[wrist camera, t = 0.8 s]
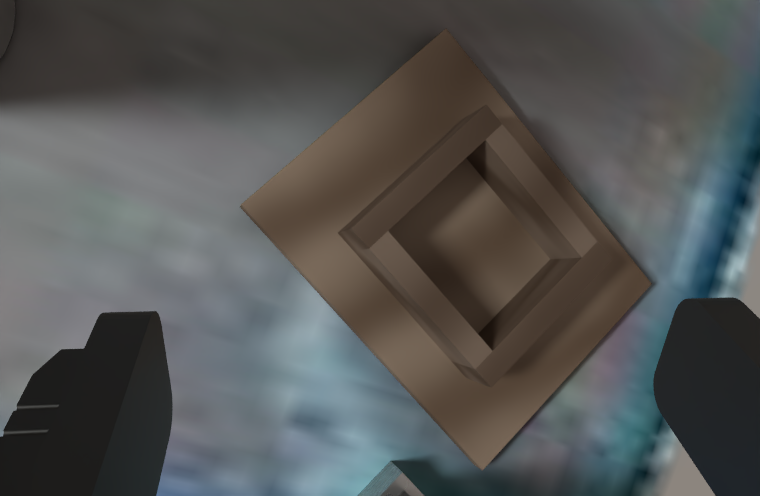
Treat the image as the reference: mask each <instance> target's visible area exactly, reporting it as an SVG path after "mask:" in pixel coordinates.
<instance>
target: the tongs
mask: <svg viewBox="0 0 760 496" xmlns="http://www.w3.org/2000/svg"><path fill="white" fill-rule="evenodd" d="M358 496H424V495H423V494H422V493H421V492H420V491H419V490H418V488H417V487H416V486H415V485H414V484H413V483H412V482H411V481H410V480H409V479H408V478H407V477H406V476H405V475H404V473H403V472H402V471H401V470H400V469H398V468H397V467H396V466H395V465H394V464H393V463H392V462H391V461H390V462H389V463H388V464H387V465H386V466H385V467H384V468H383V470H382V471H381V472H380V473H379V474H378V475H377V476H376V477H375V478H374V479H373V480H372V481H371V482H370V483H369V484H368V485H367V486H366V487H365V488H364V489H363V490H362V492H361V493H360V494H359V495H358Z"/></svg>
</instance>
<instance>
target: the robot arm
mask: <svg viewBox="0 0 760 496" xmlns="http://www.w3.org/2000/svg"><path fill="white" fill-rule="evenodd" d="M15 12H16V10H15V1H14V0H0V59H1V57H2V56H3V55H4V53H5V51H6V49H7V46H8V44H9V41H10V38H11V36H12V33H13V28H14V20H15ZM653 386H654V395H655V400H656V403H657V406H658V408H659V410H660V412H661V414H662V416H663V417H664V419H665V420H666V422H667V423H668V425H669V426H670V428H671V429H672V431H673V432H674V434H675V435H676V437H677V438H678V440H679V441H680V443H681V444H682V446H683V447H684V449H685V450H686V452H687V453H688V454H689V456H690V458H691V459H692V461H693V462H694V464H695V465H696V467H697V468H698V470H699V471H700V473H701V474H702V476H703V477H704V479H705V480H706V482H707V483H708V485H709V486H710V488H711V489H712V491H713V492H714V494H715V495H716V496H760V319H759V318H758V317H757V316H756V315H755V314H754V313H753V312H752V311H751V310H750V309H749V308H748V307H747V306H746V305H745V304H744V303H743V302H741V301H740V300H738V299H736V298H696V299H685V300H683V301H682V302H681V303H680V304H679V305H678V307H677V308H676V311H675V313H674V316H673V319H672V322H671V325H670V328H669V331H668V335H667V338H666V341H665V344H664V347H663V350H662V353H661V356H660V359H659V362H658V365H657V368H656V371H655V374H654V384H653ZM171 424H172V391H171V384H170V378H169V371H168V365H167V358H166V352H165V345H164V339H163V332H162V326H161V321H160V317H159V314H158V313H157V312H156V311H149V312H110V313H102V314H100V316H99V317H98V319H97V321H96V323H95V326H94V328H93V330H92V332H91V335H90V337H89V339H88V341H87V344H86V346H85V348H84V349H61V350H60V351H59V352H58V353H57V354H56V355H54V356H53V357H52V358H51V359H50V360H49V361H48V362H47V363H45V364H44V365H43V366H42V367H41V368H40V369H39V370H38V371H36V372H35V373H34V374H33V375H32V377H31V379H30V381H29V382H28V384H27V386H26V388H25V390H24V392H23V394H22V396H21V398H20V400H19V402H18V403H17V410H16V411H13V413H12V415H11V417H10V419H9V421H8V423H7V424H6V426H5V428H4V435H3V437H0V496H156V494H157V489H158V485H159V481H160V476H161V472H162V467H163V463H164V459H165V454H166V450H167V445H168V441H169V437H170V431H171Z"/></svg>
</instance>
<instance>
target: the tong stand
mask: <svg viewBox="0 0 760 496" xmlns="http://www.w3.org/2000/svg"><path fill="white" fill-rule="evenodd" d="M240 207H241V209H242V210H243V211H244V212H245V213H246V214H247V215H248V216H249V217H250V218H251V220H252V221H253V222H254V223H255V224H256V225H257V226H258V227H259V228H260V229H261V231H262V232H263V233H264V234H265V235H266V236H267V237H268V238H269V239H270V240H271V242H272V243H273V244H274V245H275V246H276V247H277V248H278V249H279V250H280V251H281V253H282V254H283V255H284V256H285V257H286V258H287V259H288V260H289V261H290V262H291V264H292V265H293V266H294V267H295V268H296V269H297V270H298V271H299V272H300V273H301V275H302V276H303V277H304V278H305V279H306V280H307V281H308V282H309V283H310V284H311V286H312V287H313V288H314V289H315V290H316V291H317V292H318V293H319V294H320V295H321V297H322V298H323V299H324V300H325V301H326V302H327V303H328V304H329V305H330V306H331V308H332V309H333V310H334V311H335V312H336V313H337V314H338V315H339V316H340V317H341V319H342V320H343V321H344V322H345V323H346V324H347V325H348V326H349V327H350V329H351V330H352V331H353V332H354V333H355V334H356V335H357V336H358V337H359V338H360V340H361V341H362V342H363V343H364V344H365V345H366V346H367V347H368V348H369V349H370V351H371V352H372V353H373V354H374V355H375V356H376V357H377V358H378V359H379V360H380V362H381V363H382V364H383V365H384V366H385V367H386V368H387V369H388V370H389V371H390V373H391V374H392V375H393V376H394V377H395V378H396V379H397V380H398V381H399V382H400V384H401V385H402V386H403V387H404V388H405V389H406V390H407V391H408V392H409V393H410V395H411V396H412V397H413V398H414V399H415V400H416V401H417V402H418V403H419V404H420V406H421V407H422V408H423V409H424V410H425V411H426V412H427V413H428V414H429V415H430V417H431V418H432V419H433V420H434V421H435V422H436V423H437V424H438V425H439V426H440V428H441V429H442V430H443V431H444V432H445V433H446V434H447V435H448V436H449V437H450V439H451V440H452V441H453V442H454V443H455V444H456V445H457V446H458V447H459V449H460V450H461V451H462V452H463V453H464V454H465V455H466V456H467V457H468V458H469V460H470V461H471V462H472V463H473V464H474V465H475V466H477V467H478V468H480V469H481V470H482V471H483V470H484V468H485V467H486V466H487V465H488V464H489V463H490V462H491V461H492V460H493V458H494V457H495V456H496V455H497V454H498V453H499V452H500V451H501V450H502V449H503V447H504V446H505V445H506V444H507V443H508V442H509V441H510V440H511V439H512V438H513V436H514V435H515V434H516V433H517V432H518V431H519V430H520V429H521V428H522V427H523V425H524V424H525V423H526V422H527V421H528V420H529V419H530V418H531V417H532V415H533V414H534V413H535V412H536V411H537V410H538V409H539V408H540V407H541V406H542V404H543V403H544V402H545V401H546V400H547V399H548V398H549V397H550V396H551V395H552V393H553V392H554V391H555V390H556V389H557V388H558V387H559V386H560V385H561V383H562V382H563V381H564V380H565V379H566V378H567V377H568V376H569V375H570V374H571V372H572V371H573V370H574V369H575V368H576V367H577V366H578V365H579V364H580V363H581V361H582V360H583V359H584V358H585V357H586V356H587V355H588V354H589V353H590V352H591V350H592V349H593V348H594V347H595V346H596V345H597V344H598V343H599V342H600V340H601V339H602V338H603V337H604V336H605V335H606V334H607V333H608V332H609V331H610V329H611V328H612V327H613V326H614V325H615V324H616V323H617V322H618V321H619V320H620V318H621V317H622V316H623V315H624V314H625V313H626V312H627V311H628V310H629V308H630V307H631V306H632V305H633V304H634V303H635V302H636V301H637V300H638V299H639V297H640V296H641V295H642V294H643V293H644V292H645V291H646V290H647V289H648V288H649V286H650V285H651V282H650V281H649V280H648V279H647V277H646V276H645V275H644V274H643V272H642V271H641V270H640V269H639V267H638V266H637V265H636V264H635V262H634V261H633V260H632V259H631V257H630V256H629V255H628V254H627V252H626V251H625V250H624V249H623V248H622V246H621V245H620V244H619V243H618V241H617V240H616V239H615V238H614V236H613V235H612V234H611V233H610V231H609V230H608V229H607V228H606V226H605V225H604V224H603V223H602V221H601V220H600V219H599V218H598V216H597V215H596V214H595V213H594V211H593V210H592V209H591V208H590V207H589V205H588V204H587V203H586V202H585V200H584V199H583V198H582V197H581V195H580V194H579V193H578V192H577V190H576V189H575V188H574V187H573V185H572V184H571V183H570V182H569V180H568V179H567V178H566V177H565V175H564V174H563V173H562V172H561V170H560V169H559V168H558V167H557V165H556V164H555V163H554V162H553V161H552V159H551V158H550V157H549V156H548V154H547V153H546V152H545V151H544V149H543V148H542V147H541V146H540V144H539V143H538V142H537V141H536V139H535V138H534V137H533V136H532V134H531V133H530V132H529V131H528V129H527V128H526V127H525V126H524V124H523V123H522V122H521V121H520V120H519V118H518V117H517V116H516V115H515V113H514V112H513V111H512V110H511V108H510V107H509V106H508V105H507V103H506V102H505V101H504V100H503V98H502V97H501V96H500V95H499V93H498V92H497V91H496V90H495V88H494V87H493V86H492V85H491V83H490V82H489V81H488V80H487V78H486V77H485V76H484V75H483V74H482V72H481V71H480V70H479V69H478V67H477V66H476V65H475V64H474V62H473V61H472V60H471V59H470V57H469V56H468V55H467V54H466V52H465V51H464V50H463V49H462V47H461V46H460V45H459V44H458V42H457V41H456V40H455V39H454V37H453V36H452V35H451V34H450V33H449V31H448V30H447V29H445V30H443V31H442V32H441V33H440V34H439V35H438V36H436V37H435V38H434V39H433V40H432V41H431V42H429V43H428V44H427V45H426V46H425V47H424V48H423V49H421V50H420V51H419V52H418V53H417V54H416V55H414V56H413V57H412V58H411V59H410V60H409V61H407V62H406V63H405V64H404V65H403V66H402V67H400V68H399V69H398V70H397V71H396V72H395V73H393V74H392V75H391V76H390V77H389V78H388V79H386V80H385V81H384V82H383V83H382V84H381V85H379V86H378V87H377V88H376V89H375V90H374V91H373V92H371V93H370V94H369V95H368V96H367V97H366V98H364V99H363V100H362V101H361V102H360V103H359V104H357V105H356V106H355V107H354V108H353V109H352V110H350V111H349V112H348V113H347V114H346V115H345V116H343V117H342V118H341V119H340V120H339V121H338V122H336V123H335V124H334V125H333V126H332V127H331V128H330V129H328V130H327V131H326V132H325V133H324V134H323V135H321V136H320V137H319V138H318V139H317V140H316V141H314V142H313V143H312V144H311V145H310V146H309V147H307V148H306V149H305V150H304V151H303V152H302V153H300V154H299V155H298V156H297V157H296V158H295V159H293V160H292V161H291V162H290V163H289V164H288V165H286V166H285V167H284V168H283V169H282V170H281V171H280V172H278V173H277V174H276V175H275V176H274V177H273V178H271V179H270V180H269V181H268V182H267V183H266V184H264V185H263V186H262V187H261V188H260V189H259V190H257V191H256V192H255V193H254V194H253V195H252V196H250V197H249V198H248V199H247V200H246V201H245V202H243V203H242V204H241V206H240Z"/></svg>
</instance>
